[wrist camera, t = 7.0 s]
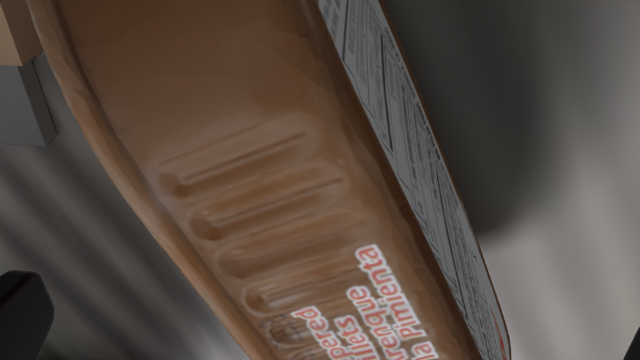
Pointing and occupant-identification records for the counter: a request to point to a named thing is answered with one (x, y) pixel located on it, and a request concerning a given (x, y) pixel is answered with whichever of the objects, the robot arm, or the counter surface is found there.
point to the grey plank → (23, 108)
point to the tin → (282, 171)
